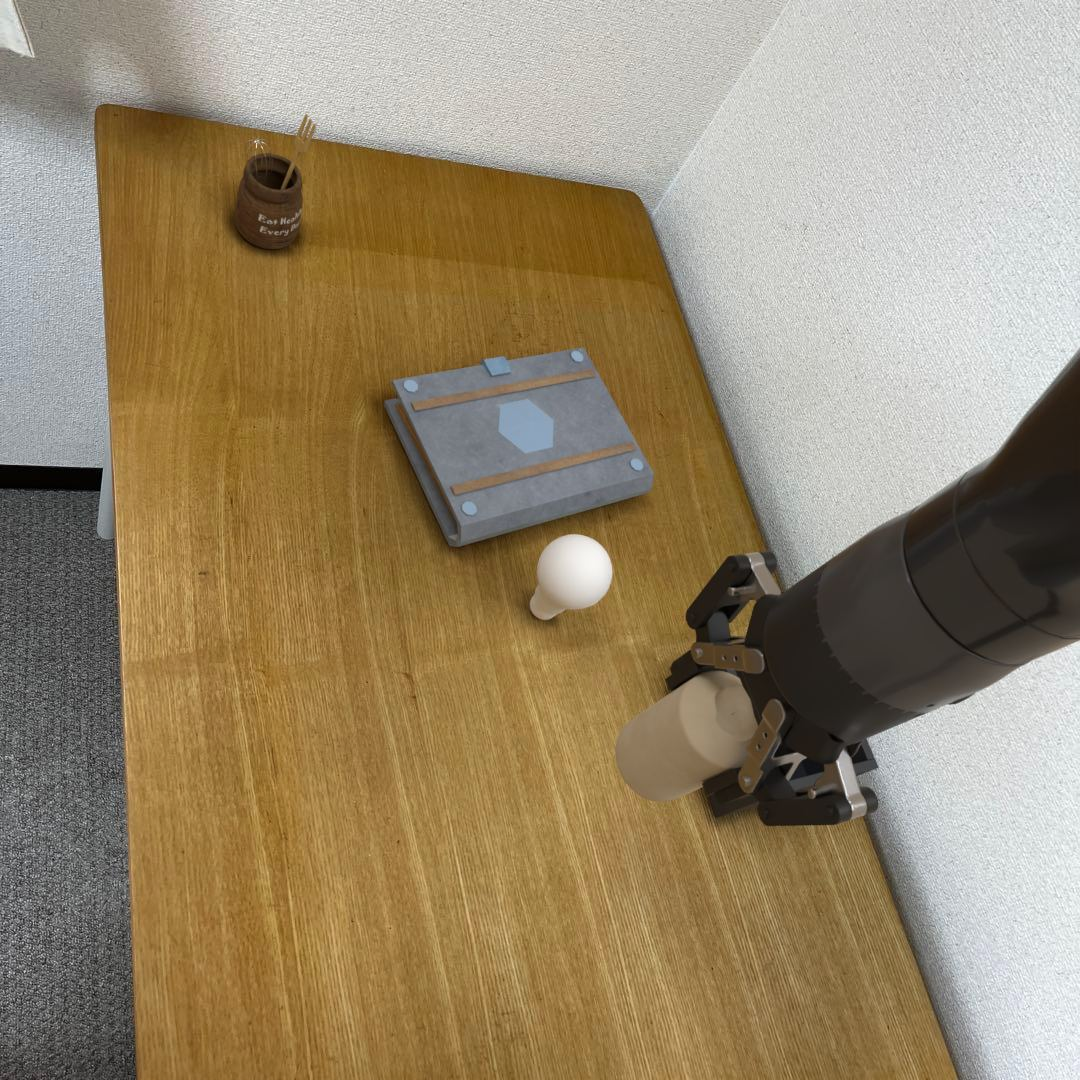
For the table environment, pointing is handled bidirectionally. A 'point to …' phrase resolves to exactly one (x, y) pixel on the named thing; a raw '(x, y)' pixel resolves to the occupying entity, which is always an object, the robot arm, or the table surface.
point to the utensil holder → (272, 195)
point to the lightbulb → (570, 576)
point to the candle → (687, 737)
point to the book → (516, 443)
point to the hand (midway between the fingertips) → (698, 733)
